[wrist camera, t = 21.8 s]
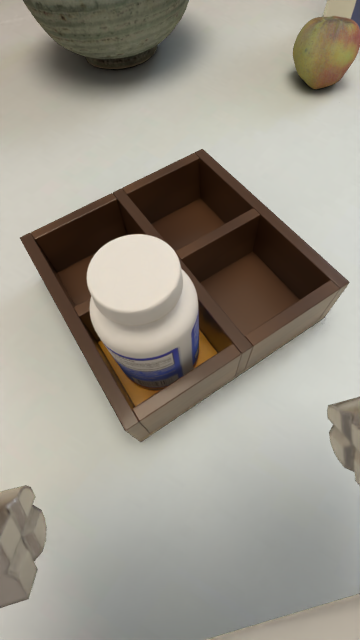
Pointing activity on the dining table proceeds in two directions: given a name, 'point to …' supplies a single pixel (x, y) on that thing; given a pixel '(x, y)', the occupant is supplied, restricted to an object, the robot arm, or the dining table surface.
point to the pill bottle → (144, 309)
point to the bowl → (109, 27)
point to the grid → (205, 273)
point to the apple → (326, 50)
